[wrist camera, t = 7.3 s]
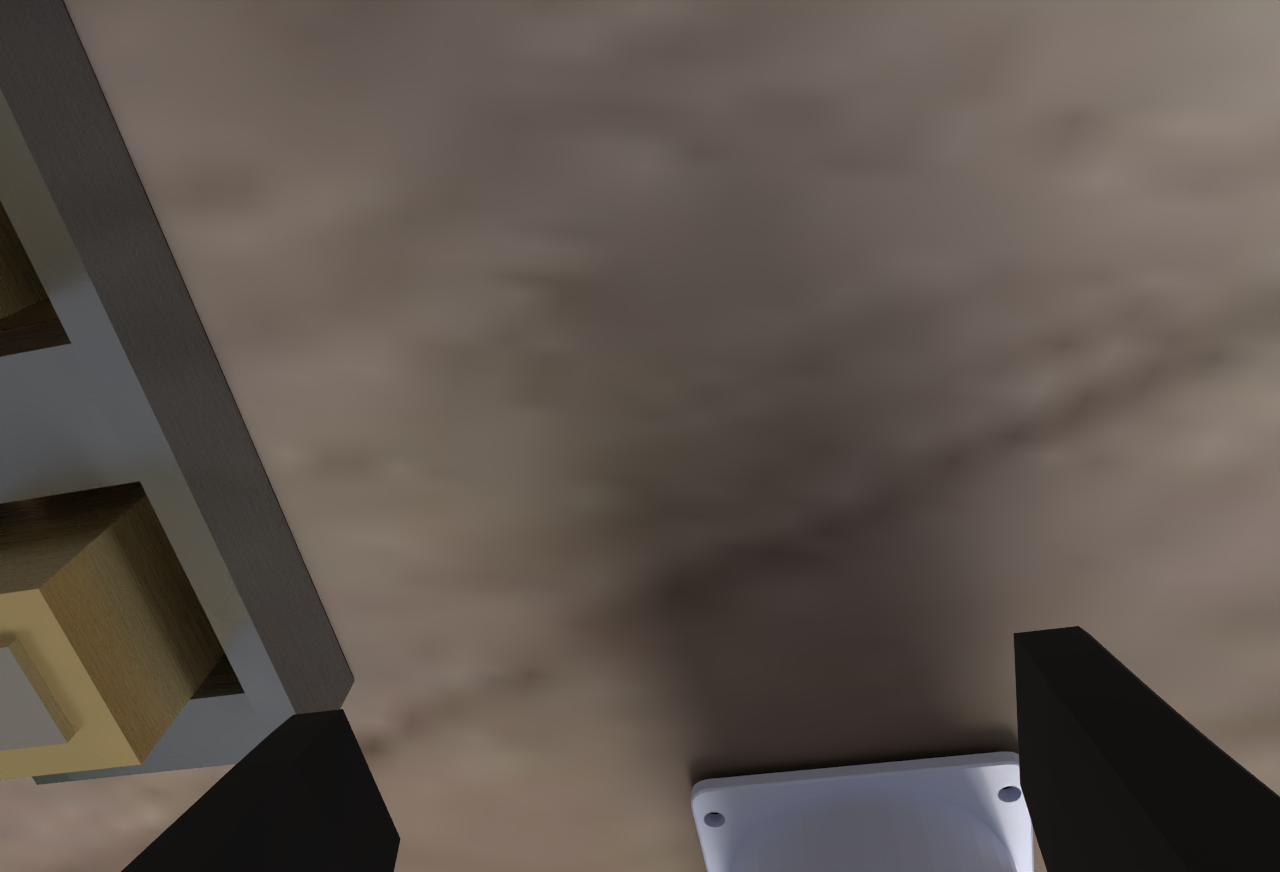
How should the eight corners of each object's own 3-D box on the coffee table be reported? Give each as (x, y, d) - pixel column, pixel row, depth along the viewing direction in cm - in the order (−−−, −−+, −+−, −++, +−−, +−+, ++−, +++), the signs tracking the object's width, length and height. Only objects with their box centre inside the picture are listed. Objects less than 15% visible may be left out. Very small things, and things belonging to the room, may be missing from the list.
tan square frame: (261, 603, 21) (132, 774, 17) (110, 623, 22) (-54, 794, 17) (192, 453, 20) (28, 597, 15) (31, 480, 20) (-175, 626, 16)
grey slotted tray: (354, 681, 22) (315, 755, 20) (99, 711, 23) (37, 784, 21) (13, -114, 15) (-104, -131, 13) (-330, -17, 16) (-490, -18, 14)
